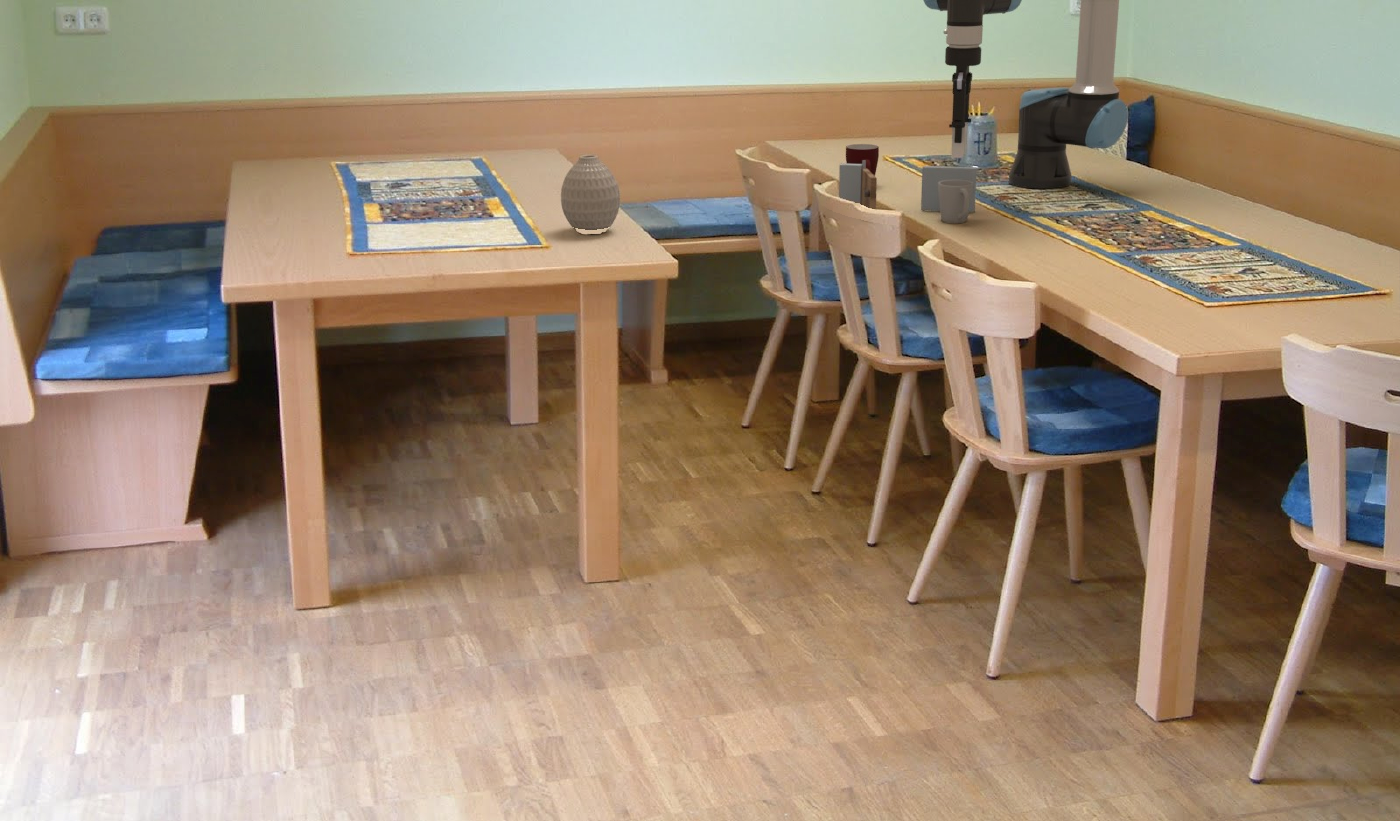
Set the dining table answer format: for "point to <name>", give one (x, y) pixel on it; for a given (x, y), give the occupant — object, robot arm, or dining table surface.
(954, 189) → the cup
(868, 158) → the mug
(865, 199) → the door
